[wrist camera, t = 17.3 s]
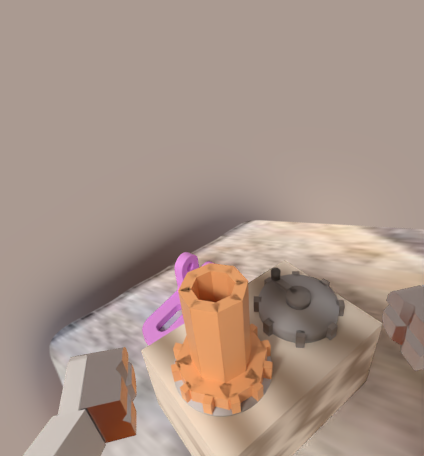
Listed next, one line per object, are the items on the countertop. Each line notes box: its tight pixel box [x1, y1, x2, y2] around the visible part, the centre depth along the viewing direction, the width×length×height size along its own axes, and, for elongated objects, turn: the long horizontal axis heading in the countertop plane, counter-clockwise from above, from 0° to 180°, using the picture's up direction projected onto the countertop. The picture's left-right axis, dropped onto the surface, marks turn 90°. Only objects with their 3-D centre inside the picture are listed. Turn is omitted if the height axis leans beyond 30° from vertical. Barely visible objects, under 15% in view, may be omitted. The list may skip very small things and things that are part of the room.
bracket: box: [142, 252, 215, 345], centre depth 49 cm, size 13×6×7 cm, turn 144°
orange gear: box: [171, 263, 273, 415], centre depth 29 cm, size 9×9×10 cm
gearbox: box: [141, 260, 383, 456], centre depth 36 cm, size 20×13×14 cm, turn 127°
